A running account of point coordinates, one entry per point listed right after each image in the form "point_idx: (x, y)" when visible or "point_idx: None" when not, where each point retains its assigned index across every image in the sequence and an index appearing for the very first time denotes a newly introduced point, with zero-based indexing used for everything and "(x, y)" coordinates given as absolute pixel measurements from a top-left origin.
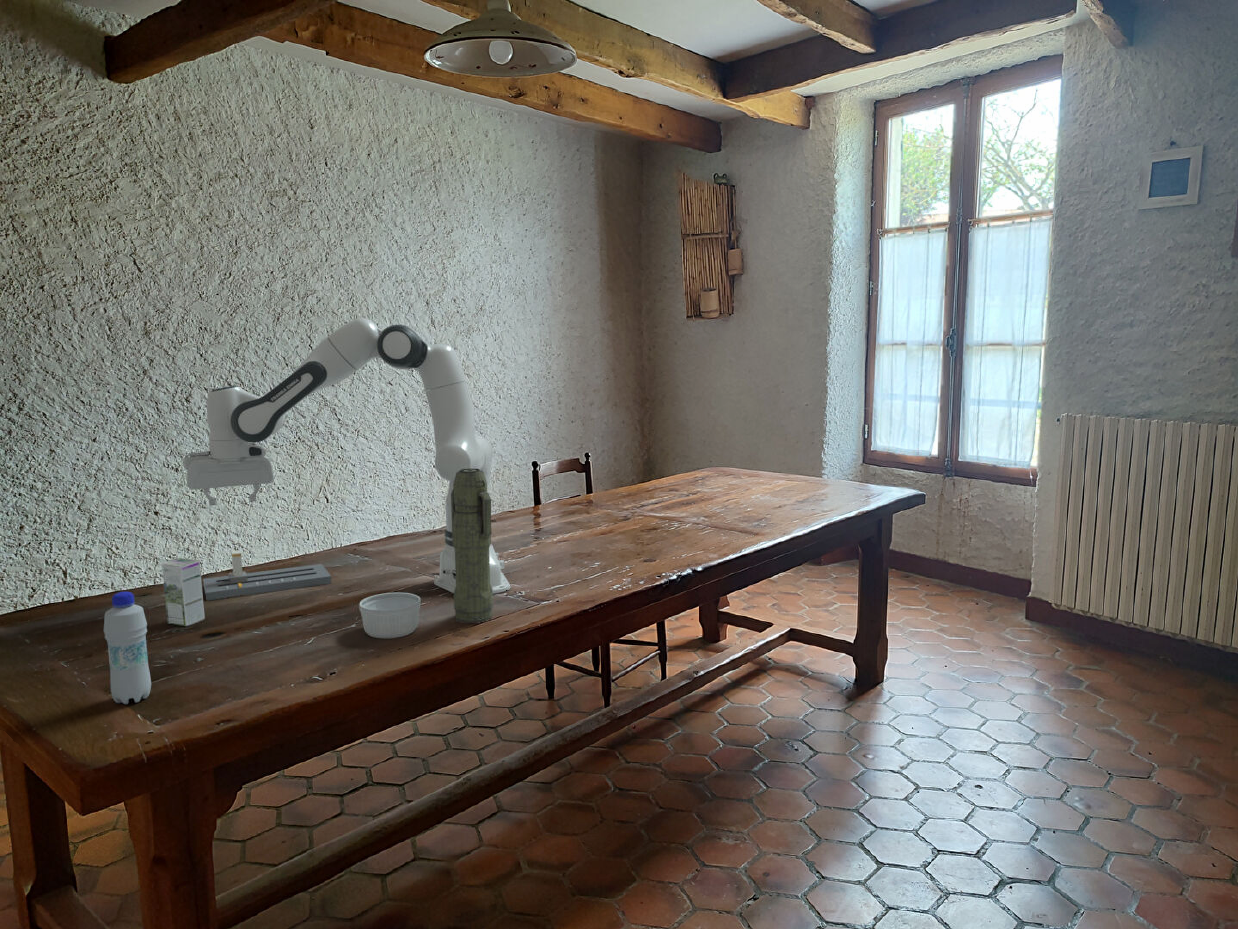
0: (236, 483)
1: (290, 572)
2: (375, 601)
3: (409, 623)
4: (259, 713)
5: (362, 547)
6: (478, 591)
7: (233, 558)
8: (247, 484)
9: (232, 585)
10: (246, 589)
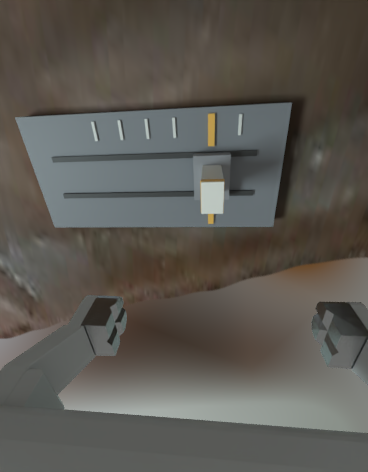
0: (170, 449)
1: (108, 192)
2: None
3: None
4: None
5: (21, 317)
6: None
7: (221, 177)
8: (64, 413)
9: (226, 143)
10: (199, 107)
